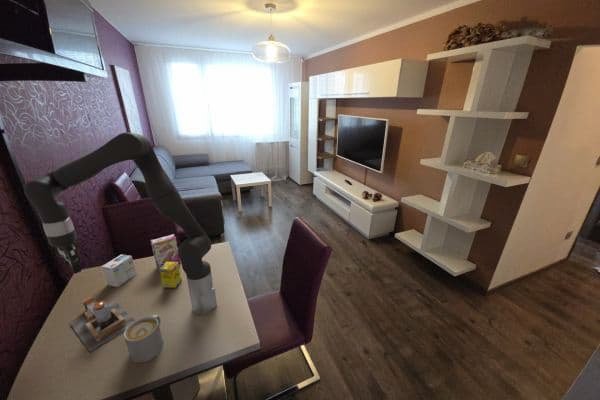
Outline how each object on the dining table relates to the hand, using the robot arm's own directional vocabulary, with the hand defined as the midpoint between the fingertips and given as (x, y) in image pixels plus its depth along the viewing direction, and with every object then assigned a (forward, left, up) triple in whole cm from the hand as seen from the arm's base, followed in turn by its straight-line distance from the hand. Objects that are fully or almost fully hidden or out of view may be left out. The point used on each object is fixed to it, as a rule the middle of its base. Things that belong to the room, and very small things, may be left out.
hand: (73, 268), depth 95 cm
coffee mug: (-37, -7, -22) cm, 43 cm away
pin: (-3, -1, -20) cm, 21 cm away
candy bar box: (+3, -36, -22) cm, 42 cm away
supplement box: (-13, -29, -22) cm, 38 cm away
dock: (-12, -1, -21) cm, 25 cm away
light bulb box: (+11, -17, -22) cm, 30 cm away
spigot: (-16, -1, -21) cm, 26 cm away
